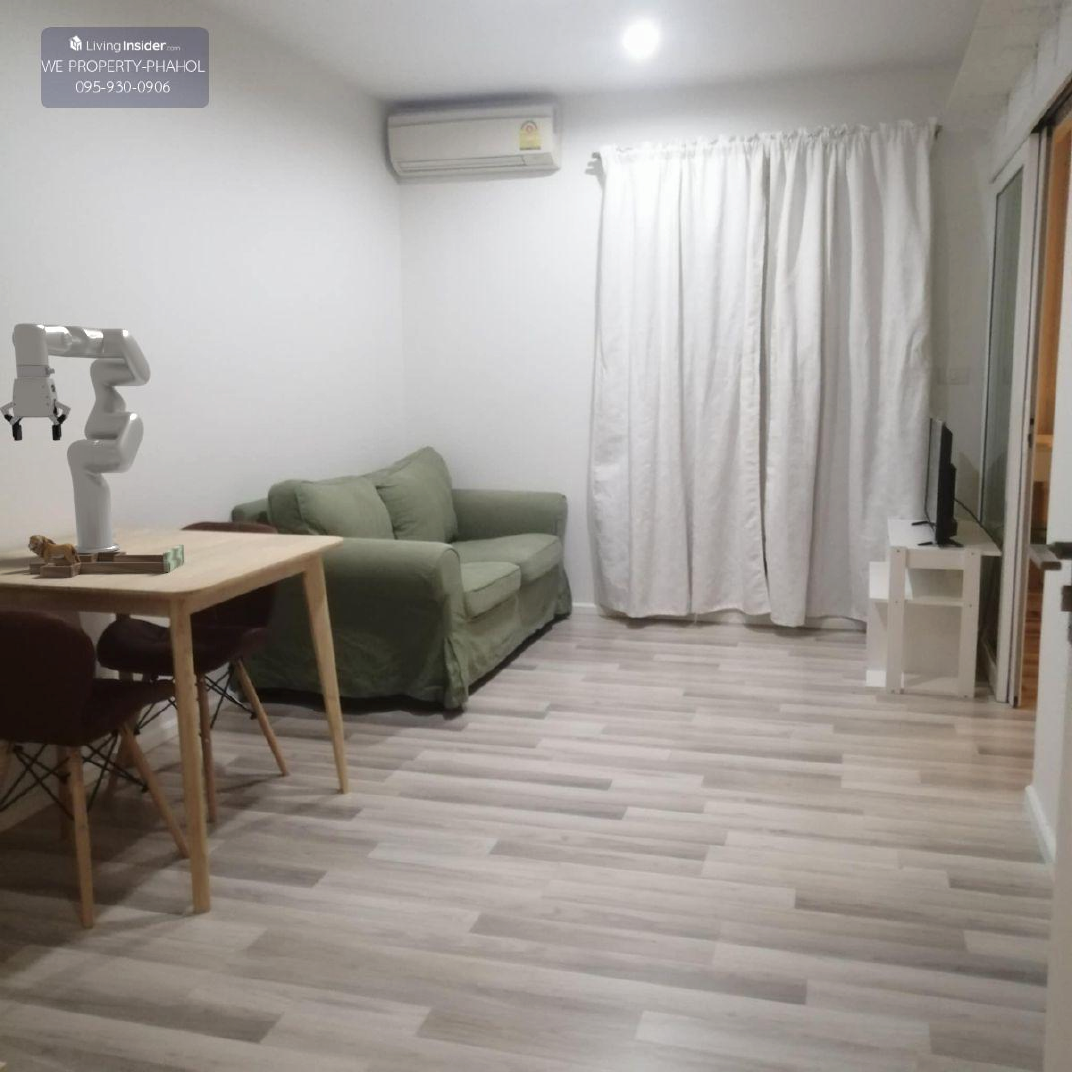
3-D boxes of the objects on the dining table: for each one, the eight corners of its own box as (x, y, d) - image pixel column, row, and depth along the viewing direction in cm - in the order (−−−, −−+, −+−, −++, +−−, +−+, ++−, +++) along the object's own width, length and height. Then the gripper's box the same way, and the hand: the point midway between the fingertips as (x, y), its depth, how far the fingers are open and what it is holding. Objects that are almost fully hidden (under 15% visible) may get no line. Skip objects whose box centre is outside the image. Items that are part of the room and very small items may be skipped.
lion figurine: (26, 570, 266) (23, 536, 265) (36, 566, 272) (33, 533, 270) (83, 570, 266) (80, 536, 265) (92, 566, 272) (89, 532, 270)
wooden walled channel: (59, 561, 279) (58, 542, 279) (189, 560, 280) (188, 542, 279) (20, 577, 258) (19, 557, 257) (162, 576, 258) (160, 556, 257)
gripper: (73, 373, 268) (77, 439, 270) (5, 373, 267) (9, 440, 269) (61, 372, 260) (65, 441, 263) (-9, 372, 260) (-4, 441, 262)
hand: (37, 440), depth 266 cm, fingers open, 9 cm apart
